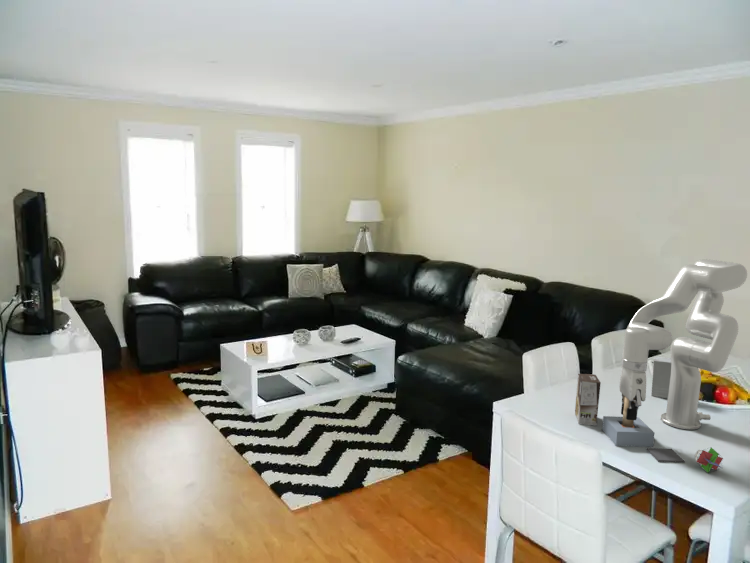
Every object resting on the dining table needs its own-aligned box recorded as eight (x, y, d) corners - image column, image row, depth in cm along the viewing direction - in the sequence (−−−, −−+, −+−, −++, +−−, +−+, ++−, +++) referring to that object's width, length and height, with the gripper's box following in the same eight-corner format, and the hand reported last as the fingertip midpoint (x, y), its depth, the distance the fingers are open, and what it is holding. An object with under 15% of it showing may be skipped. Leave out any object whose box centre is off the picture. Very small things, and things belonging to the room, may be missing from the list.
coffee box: (597, 426, 193) (601, 382, 190) (578, 424, 195) (581, 381, 192) (592, 415, 202) (596, 374, 199) (574, 413, 203) (577, 372, 201)
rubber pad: (671, 450, 176) (671, 448, 176) (684, 462, 168) (684, 460, 168) (646, 449, 176) (646, 447, 176) (658, 461, 168) (658, 460, 168)
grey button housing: (636, 430, 190) (638, 417, 189) (652, 446, 178) (654, 432, 177) (602, 429, 190) (603, 416, 189) (615, 445, 179) (617, 431, 178)
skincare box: (674, 395, 223) (678, 358, 221) (673, 400, 218) (677, 363, 215) (651, 391, 228) (655, 354, 225) (649, 396, 222) (653, 359, 219)
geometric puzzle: (720, 458, 167) (706, 438, 166) (734, 469, 160) (720, 448, 159) (699, 470, 168) (686, 451, 167) (712, 482, 161) (698, 462, 160)
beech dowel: (630, 423, 185) (633, 393, 183) (634, 428, 182) (638, 396, 180) (620, 423, 185) (623, 392, 183) (624, 427, 182) (627, 396, 180)
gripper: (657, 373, 172) (651, 428, 175) (634, 357, 188) (629, 407, 191) (633, 372, 172) (627, 427, 175) (612, 356, 188) (607, 407, 191)
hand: (628, 416), depth 183 cm, fingers closed on beech dowel, 3 cm apart
